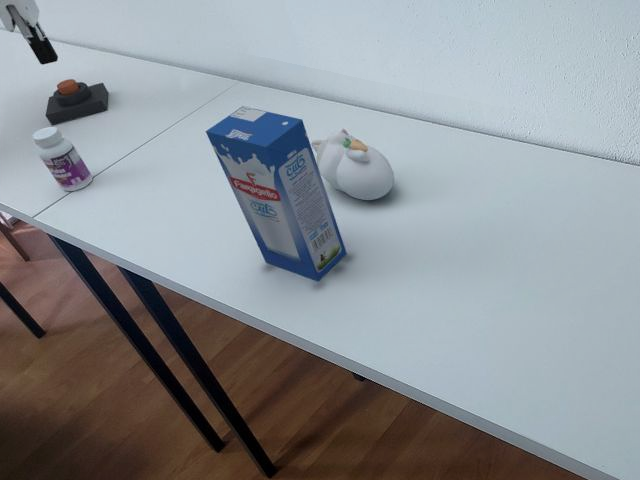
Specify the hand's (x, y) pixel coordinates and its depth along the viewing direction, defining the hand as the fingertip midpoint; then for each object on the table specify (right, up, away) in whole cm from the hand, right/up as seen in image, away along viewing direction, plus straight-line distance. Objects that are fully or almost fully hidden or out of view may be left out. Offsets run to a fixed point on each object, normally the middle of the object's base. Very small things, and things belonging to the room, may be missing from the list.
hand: (49, 61), depth 124 cm
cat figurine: (+64, -31, -25) cm, 76 cm away
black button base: (+1, -6, +7) cm, 10 cm away
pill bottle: (+14, -27, -13) cm, 34 cm away
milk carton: (+59, -44, -35) cm, 81 cm away
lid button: (+1, -4, +5) cm, 6 cm away
